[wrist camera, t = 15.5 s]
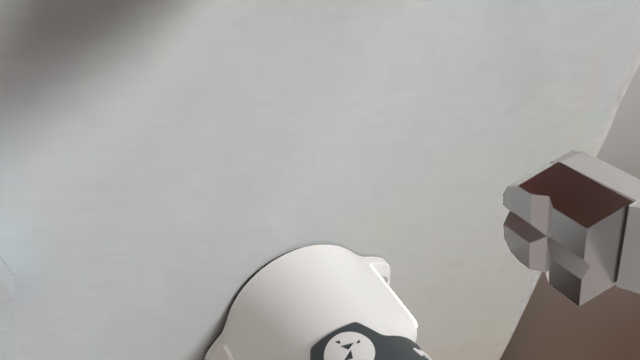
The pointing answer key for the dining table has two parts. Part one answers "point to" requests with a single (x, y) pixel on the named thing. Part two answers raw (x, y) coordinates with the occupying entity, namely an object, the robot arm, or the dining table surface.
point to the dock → (6, 283)
